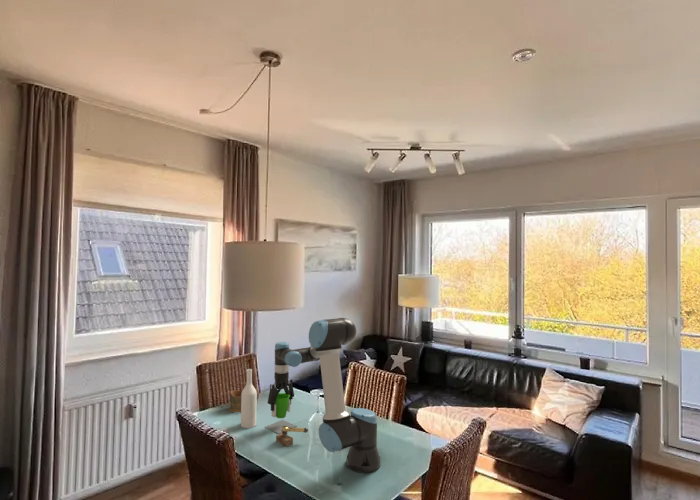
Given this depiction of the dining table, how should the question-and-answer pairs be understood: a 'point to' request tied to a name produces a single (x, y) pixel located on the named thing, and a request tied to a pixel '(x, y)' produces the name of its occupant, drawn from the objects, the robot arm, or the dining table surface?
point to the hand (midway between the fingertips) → (281, 413)
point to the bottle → (248, 403)
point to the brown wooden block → (284, 439)
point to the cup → (281, 405)
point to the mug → (236, 401)
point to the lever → (293, 429)
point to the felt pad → (279, 426)
